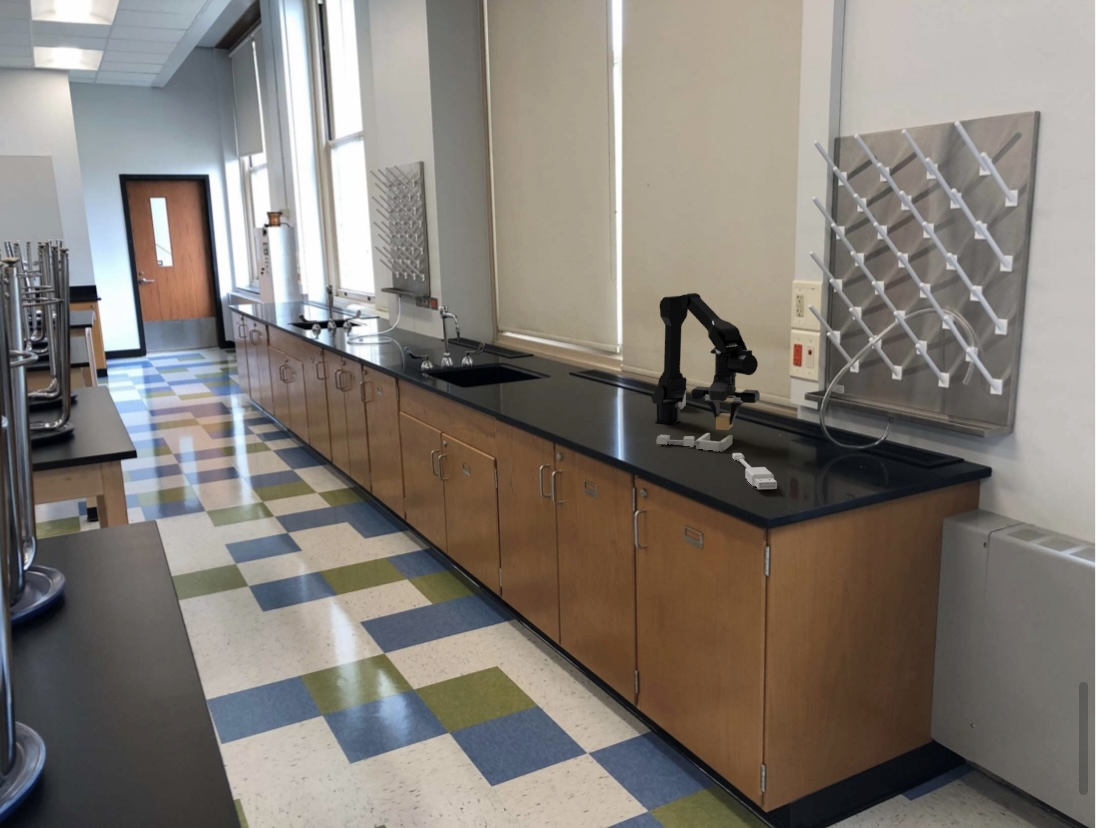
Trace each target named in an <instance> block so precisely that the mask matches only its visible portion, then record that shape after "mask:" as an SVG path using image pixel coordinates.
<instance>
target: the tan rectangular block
mask: <svg viewBox="0 0 1097 828" xmlns="http://www.w3.org/2000/svg"><path fill="white" fill-rule="evenodd" d="M730 414H731V413H725V412H724V413H723V412H720V415H718V416H717V417H716V420H715V430H720V431H723V430H724V431H729V430H730V429H731V428H733V426H734V423H733V424H732V425H730Z"/></svg>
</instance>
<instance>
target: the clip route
mask: <svg viewBox="0 0 1097 828" xmlns="http://www.w3.org/2000/svg"><path fill="white" fill-rule="evenodd" d="M655 441H656V442H655V443H656V445H657V444H666V445H667V444H669V445H671V444H673V445H675V446H690V447H689V448H694V447H695V446H696V440H695V436H693V435H692V436H691V435H690V436H688V435H687V436H685V435H684V436H683V439H671V435H667V434H659V435H658V436H657V437H656V439H655ZM667 446H668V445H667Z"/></svg>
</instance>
